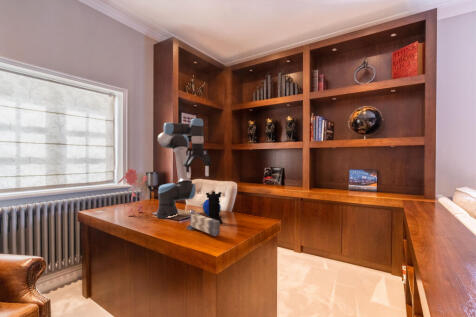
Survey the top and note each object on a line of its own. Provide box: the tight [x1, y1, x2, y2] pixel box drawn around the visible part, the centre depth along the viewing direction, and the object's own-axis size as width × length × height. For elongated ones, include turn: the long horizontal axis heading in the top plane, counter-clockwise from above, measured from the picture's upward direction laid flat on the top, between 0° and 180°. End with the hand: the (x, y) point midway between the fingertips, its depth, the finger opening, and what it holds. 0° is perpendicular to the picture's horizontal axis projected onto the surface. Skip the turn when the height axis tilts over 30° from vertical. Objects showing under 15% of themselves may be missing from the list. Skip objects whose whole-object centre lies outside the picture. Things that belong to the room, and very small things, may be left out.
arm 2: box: [194, 213, 221, 236], centre depth 132 cm, size 22×2×7 cm, turn 44°
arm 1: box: [192, 215, 218, 237], centre depth 131 cm, size 22×2×7 cm, turn 44°
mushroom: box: [202, 198, 222, 217], centre depth 169 cm, size 14×14×15 cm
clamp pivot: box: [186, 209, 197, 231], centre depth 141 cm, size 5×5×11 cm
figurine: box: [117, 168, 150, 217], centre depth 178 cm, size 15×26×35 cm, turn 161°
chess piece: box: [205, 191, 224, 224], centre depth 151 cm, size 8×8×20 cm
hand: (198, 176), depth 147 cm, fingers open, 13 cm apart
